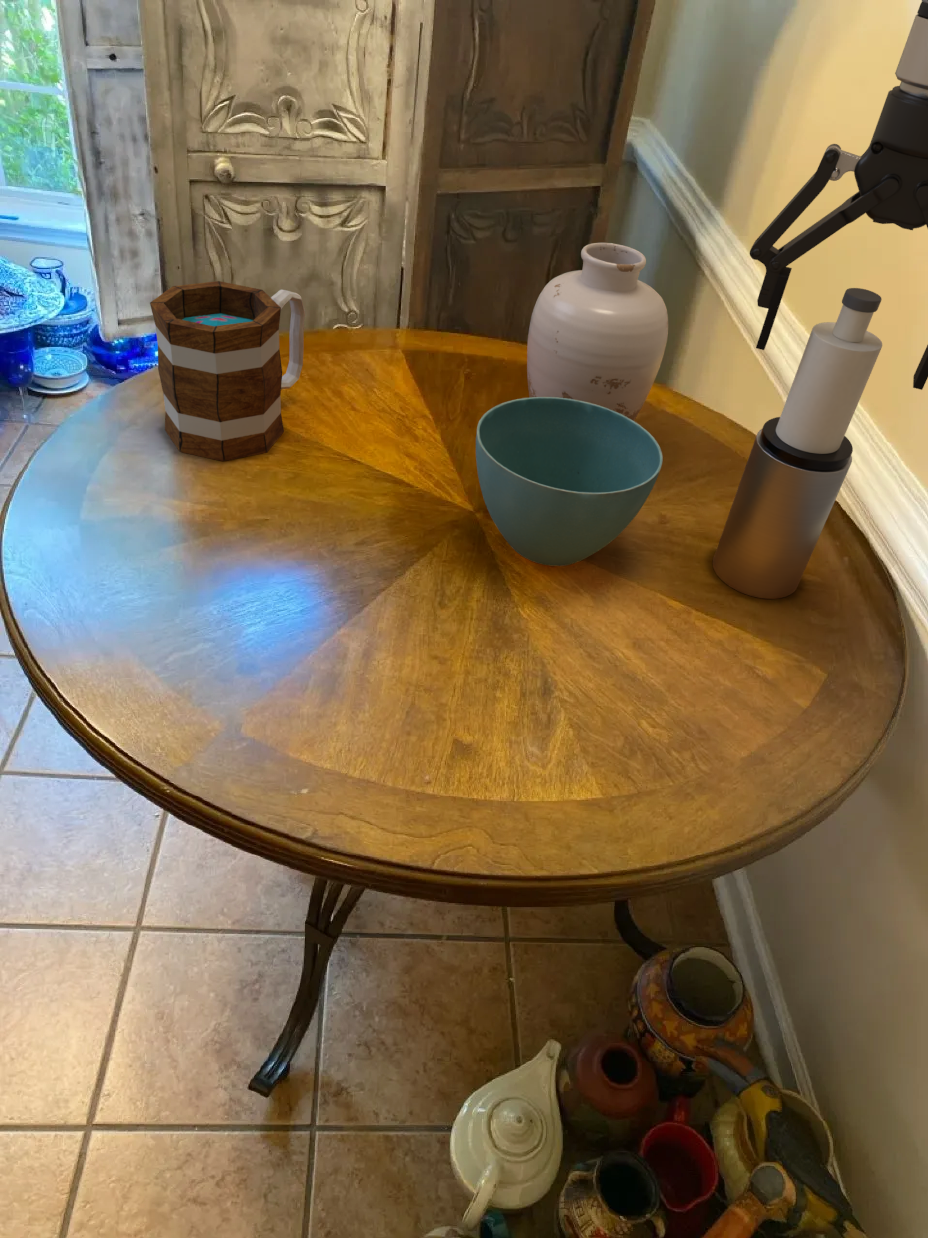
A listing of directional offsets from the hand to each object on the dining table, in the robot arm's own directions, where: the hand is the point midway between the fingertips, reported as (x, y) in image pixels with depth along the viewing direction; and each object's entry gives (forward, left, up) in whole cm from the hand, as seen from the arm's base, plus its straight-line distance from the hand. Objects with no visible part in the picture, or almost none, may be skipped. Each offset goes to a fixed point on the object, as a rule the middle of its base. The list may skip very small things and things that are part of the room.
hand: (838, 363), depth 81 cm
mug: (+52, +32, -24) cm, 66 cm away
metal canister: (0, 0, -24) cm, 24 cm away
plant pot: (+15, +16, -24) cm, 32 cm away
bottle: (0, 0, -8) cm, 8 cm away
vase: (+30, -2, -24) cm, 38 cm away
